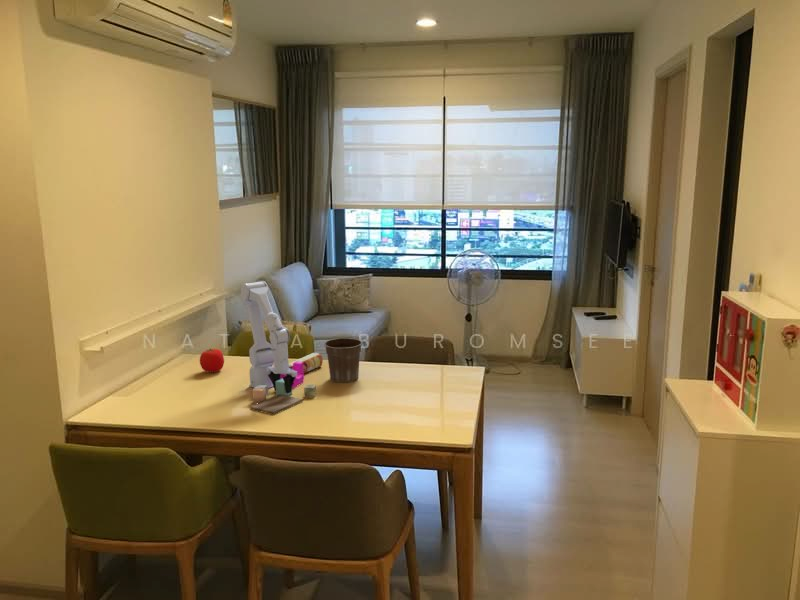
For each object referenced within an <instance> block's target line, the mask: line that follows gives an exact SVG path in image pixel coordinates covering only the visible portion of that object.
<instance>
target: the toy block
mask: <svg viewBox="0 0 800 600" xmlns="http://www.w3.org/2000/svg"><path fill="white" fill-rule="evenodd" d="M292 370H294V371H297V376H296V378H295V380H294V382H293V385H292V390H293V389H294V387H295V388H296V387H298V386H300V385H301V383H302V384H303V383H304V379H305V373H304V369H303V362H294V363H293V368H292ZM285 376H286V375H284V374H281V375H280V379H282V378H283V377H285ZM299 384H300V385H299ZM297 385H298V386H297Z"/></svg>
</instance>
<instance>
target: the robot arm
mask: <svg viewBox="0 0 800 600" xmlns="http://www.w3.org/2000/svg"><path fill="white" fill-rule="evenodd" d="M269 290H270V289H269V286H268V283H267V282H266V281H265V280H262V281H256V282H249V283H243V284H242V285H241V288H240V294H241V299H242V303H243V305H246V309H247V314H248V318H249V323H250V328H251V334H252V338H253V344H252V346H251V347H250V348H249V349H248V351H249V362H250V365H251V366H250V368H249V385H248V386H249V387H250V388H255V387H257V386H258V385H266V386H268V389H270V388H272V387H273V388H274V391H275V392H276V384H275V381H277V380H280V375H281V374H284V375H286V376H285V377H283V380H284V382H285V387H286V393H290V392H291V390H292V391H293V389H292V385H293V382H294V380H295V378H296V376H297V371H294V370H292V369H290V368H289V363H290V362H289V351H288V350H289V349H288V347H289V346H288V343H289V342H290V338H291V335H290V332H289V329H288V328H287V327H286V326H285V325H283V324H282V321H281V320H280V317H279V315H278V313H275V312H274V311H273V308H272V305H271V303H270V300H269V297H268V296H269V292H270V291H269ZM261 311H262V312H261ZM261 313H263V315H264V319H262V314H261ZM263 321H264V323H265V326H266V327H267V330H268V332H269V337H268V338H269V341H270V342H268V341H267V338H266V332H265V329H264V323H263Z"/></svg>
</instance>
